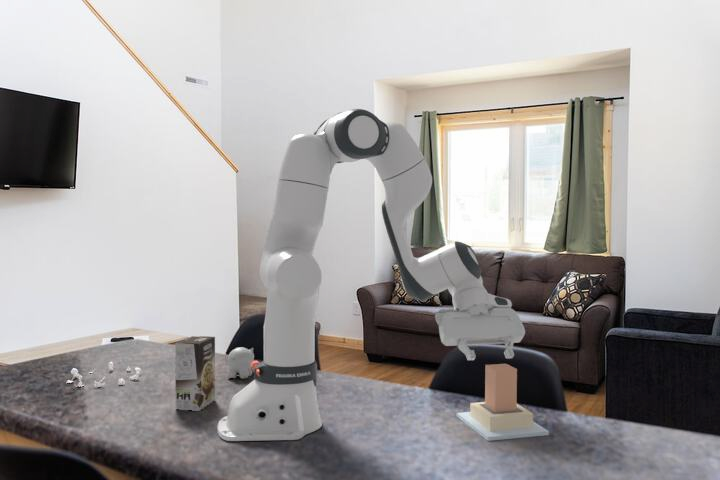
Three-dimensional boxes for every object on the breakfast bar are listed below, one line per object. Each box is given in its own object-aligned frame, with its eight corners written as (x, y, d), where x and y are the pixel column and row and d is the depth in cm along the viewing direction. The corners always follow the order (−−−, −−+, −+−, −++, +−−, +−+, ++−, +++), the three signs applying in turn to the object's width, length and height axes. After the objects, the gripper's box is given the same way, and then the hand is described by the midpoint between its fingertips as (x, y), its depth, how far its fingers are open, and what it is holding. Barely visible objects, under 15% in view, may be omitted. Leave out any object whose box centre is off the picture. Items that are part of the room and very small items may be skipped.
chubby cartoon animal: (263, 370, 183) (263, 342, 183) (246, 381, 172) (246, 350, 171) (241, 369, 185) (241, 341, 185) (223, 379, 173) (222, 349, 173)
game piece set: (50, 385, 169) (50, 371, 168) (106, 369, 187) (106, 356, 187) (104, 393, 161) (104, 379, 161) (157, 375, 179) (157, 362, 179)
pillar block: (495, 412, 133) (495, 370, 132) (485, 405, 137) (485, 364, 137) (516, 410, 134) (516, 369, 133) (505, 403, 139) (506, 363, 138)
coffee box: (199, 411, 145) (199, 343, 144) (174, 410, 146) (173, 342, 146) (216, 400, 154) (216, 336, 153) (192, 399, 155) (192, 335, 154)
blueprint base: (487, 440, 126) (487, 422, 126) (456, 416, 142) (456, 399, 142) (548, 435, 130) (549, 416, 130) (512, 411, 145) (512, 395, 145)
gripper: (436, 301, 144) (452, 352, 135) (516, 299, 149) (536, 348, 140) (429, 317, 149) (444, 367, 139) (507, 315, 153) (526, 363, 144)
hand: (491, 358), depth 140 cm, fingers open, 8 cm apart
